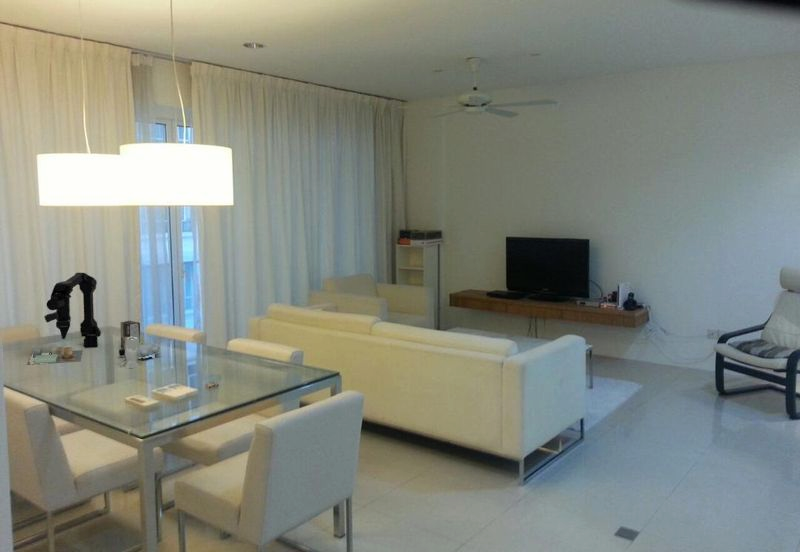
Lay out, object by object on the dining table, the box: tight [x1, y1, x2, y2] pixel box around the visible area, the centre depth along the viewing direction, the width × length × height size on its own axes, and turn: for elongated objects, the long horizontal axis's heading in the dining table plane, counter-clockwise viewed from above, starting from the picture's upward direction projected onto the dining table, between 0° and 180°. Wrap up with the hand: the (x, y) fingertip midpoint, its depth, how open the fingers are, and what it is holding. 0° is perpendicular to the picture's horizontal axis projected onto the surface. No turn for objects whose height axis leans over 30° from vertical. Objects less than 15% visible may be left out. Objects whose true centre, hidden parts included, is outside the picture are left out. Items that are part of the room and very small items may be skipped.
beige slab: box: [51, 345, 71, 356], centre depth 327 cm, size 8×8×3 cm
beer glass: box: [125, 337, 140, 365], centre depth 310 cm, size 7×7×15 cm
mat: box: [26, 349, 84, 366], centre depth 321 cm, size 24×24×1 cm
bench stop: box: [32, 346, 42, 358], centre depth 322 cm, size 3×9×4 cm, turn 25°
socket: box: [60, 355, 76, 362], centre depth 318 cm, size 7×7×1 cm
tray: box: [34, 354, 58, 365], centre depth 313 cm, size 10×10×2 cm
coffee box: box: [120, 320, 141, 350], centre depth 340 cm, size 9×6×16 cm
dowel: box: [64, 346, 73, 359], centre depth 317 cm, size 4×4×6 cm
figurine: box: [118, 341, 161, 358], centre depth 328 cm, size 17×8×20 cm
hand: (63, 337), depth 315 cm, fingers open, 9 cm apart
